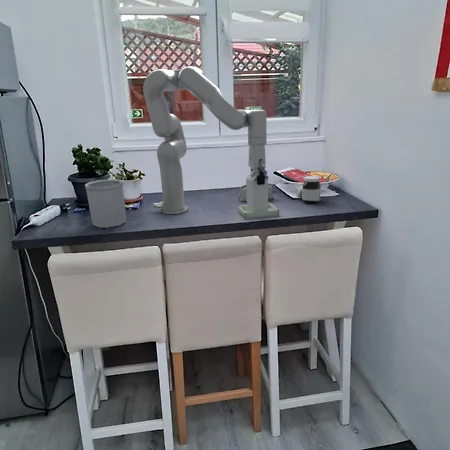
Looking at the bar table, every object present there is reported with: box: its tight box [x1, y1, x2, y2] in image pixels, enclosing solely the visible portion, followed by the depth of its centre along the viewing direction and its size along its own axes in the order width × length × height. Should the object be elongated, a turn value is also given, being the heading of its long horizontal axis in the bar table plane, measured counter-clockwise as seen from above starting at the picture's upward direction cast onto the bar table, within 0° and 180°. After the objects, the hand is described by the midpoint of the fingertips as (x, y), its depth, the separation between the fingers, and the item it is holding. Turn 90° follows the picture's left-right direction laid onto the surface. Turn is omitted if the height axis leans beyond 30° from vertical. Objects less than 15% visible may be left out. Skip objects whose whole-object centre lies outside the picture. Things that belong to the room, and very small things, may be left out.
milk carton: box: [245, 169, 269, 212], centre depth 167 cm, size 7×7×19 cm
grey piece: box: [237, 182, 273, 202], centre depth 191 cm, size 17×5×10 cm, turn 101°
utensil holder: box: [84, 178, 127, 227], centre depth 162 cm, size 15×15×18 cm
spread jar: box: [296, 175, 322, 205], centre depth 184 cm, size 12×11×12 cm
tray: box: [237, 202, 280, 220], centre depth 170 cm, size 15×12×2 cm
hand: (257, 182), depth 166 cm, fingers open, 9 cm apart
